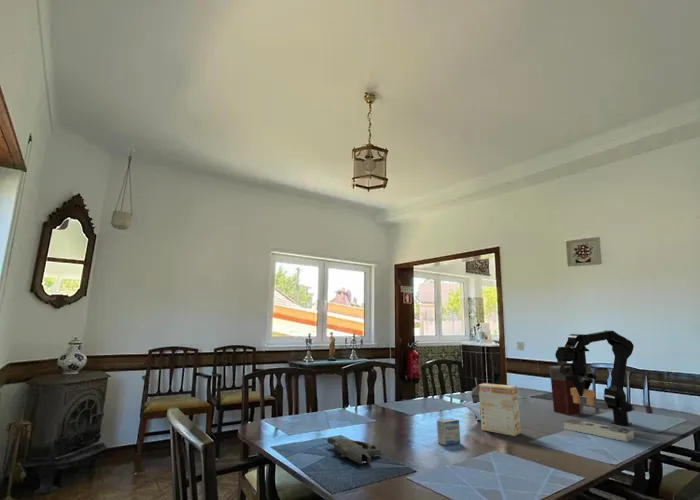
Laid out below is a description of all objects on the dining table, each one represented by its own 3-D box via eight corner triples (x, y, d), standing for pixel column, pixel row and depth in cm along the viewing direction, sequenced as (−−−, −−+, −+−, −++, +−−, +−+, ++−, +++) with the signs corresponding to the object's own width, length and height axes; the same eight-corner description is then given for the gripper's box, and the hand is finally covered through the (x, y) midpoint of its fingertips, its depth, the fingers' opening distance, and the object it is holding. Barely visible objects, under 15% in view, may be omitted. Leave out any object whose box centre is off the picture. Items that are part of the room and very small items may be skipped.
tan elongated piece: (354, 452, 129) (392, 451, 135) (324, 432, 151) (358, 432, 157) (352, 468, 128) (390, 466, 134) (322, 446, 149) (356, 445, 156)
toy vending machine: (584, 413, 203) (578, 357, 208) (568, 415, 199) (562, 358, 204) (568, 409, 211) (563, 356, 216) (553, 411, 207) (548, 357, 212)
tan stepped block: (575, 402, 185) (573, 387, 186) (595, 405, 177) (594, 390, 179) (571, 402, 183) (570, 388, 184) (592, 406, 175) (590, 391, 177)
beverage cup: (489, 421, 186) (486, 378, 190) (473, 421, 188) (470, 378, 191) (487, 418, 193) (484, 376, 197) (472, 417, 195) (469, 376, 198)
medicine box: (445, 446, 150) (444, 422, 152) (437, 443, 154) (436, 420, 156) (460, 443, 154) (459, 420, 156) (452, 440, 158) (451, 417, 159)
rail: (572, 426, 178) (572, 419, 179) (634, 438, 159) (633, 430, 160) (564, 429, 173) (563, 421, 174) (626, 441, 155) (625, 433, 155)
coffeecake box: (521, 433, 167) (517, 385, 171) (515, 436, 162) (511, 387, 166) (487, 427, 178) (484, 382, 181) (480, 430, 172) (477, 384, 176)
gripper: (571, 358, 195) (574, 391, 192) (551, 361, 185) (555, 395, 182) (595, 360, 186) (599, 394, 184) (576, 363, 176) (580, 399, 173)
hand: (582, 396), depth 181 cm, fingers closed on tan stepped block, 3 cm apart
